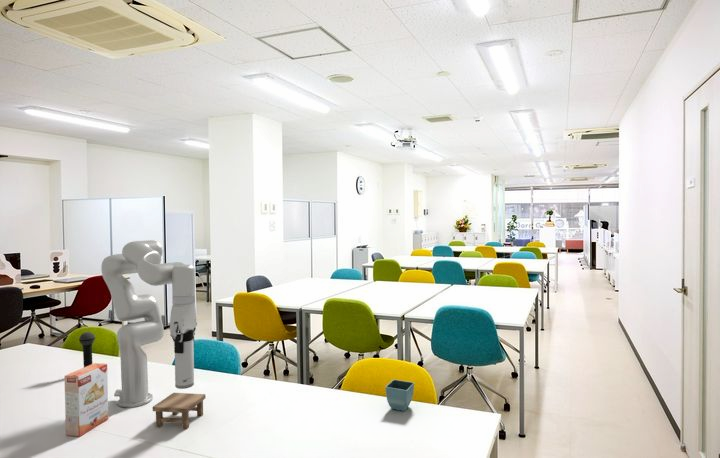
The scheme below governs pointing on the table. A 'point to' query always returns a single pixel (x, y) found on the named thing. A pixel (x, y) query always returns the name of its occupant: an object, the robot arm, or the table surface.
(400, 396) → the flower pot
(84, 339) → the microphone
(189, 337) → the travel mug
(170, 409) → the stool
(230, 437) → the table surface
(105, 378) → the cracker box
